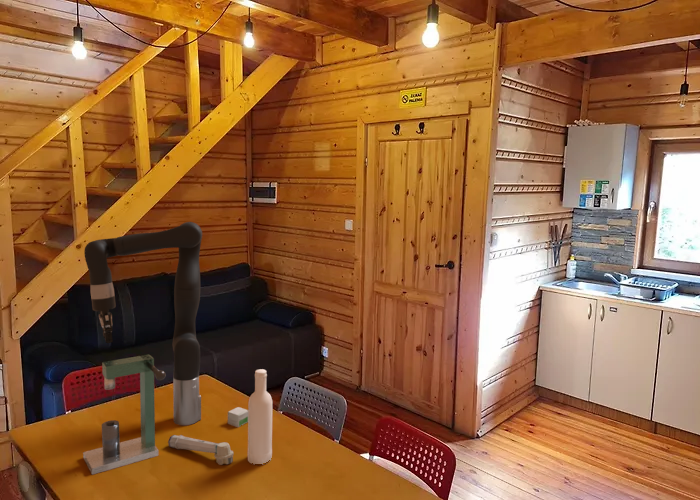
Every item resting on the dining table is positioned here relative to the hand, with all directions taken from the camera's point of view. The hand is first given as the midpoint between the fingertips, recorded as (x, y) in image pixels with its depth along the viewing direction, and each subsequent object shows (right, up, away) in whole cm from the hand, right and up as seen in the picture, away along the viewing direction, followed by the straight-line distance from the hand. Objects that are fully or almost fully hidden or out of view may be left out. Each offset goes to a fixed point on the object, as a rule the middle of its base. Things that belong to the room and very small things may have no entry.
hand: (108, 340), depth 184 cm
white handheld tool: (+37, -36, -14) cm, 54 cm away
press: (+15, -36, -21) cm, 44 cm away
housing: (+10, -33, -19) cm, 40 cm away
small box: (+45, -33, +10) cm, 57 cm away
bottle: (+57, -37, -16) cm, 70 cm away
